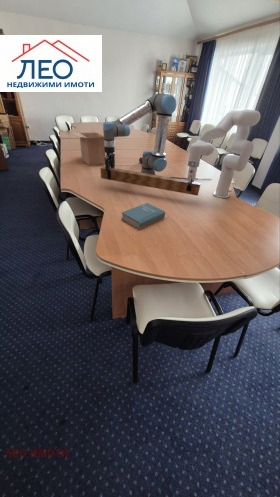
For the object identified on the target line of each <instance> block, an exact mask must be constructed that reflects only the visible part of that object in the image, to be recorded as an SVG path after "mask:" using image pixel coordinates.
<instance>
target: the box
mask: <svg viewBox="0 0 280 497" xmlns="http://www.w3.org/2000/svg"><path fill="white" fill-rule="evenodd" d="M70 133H71V134H72V135H74V136H75V137H77V138H79V144H80V153H81V160H83V162H85V163H86V165H87V166H95V165H97V166H98V165H105V157H106V152H105V151H104V147H105V146H104V133H103V131H98V132H96V131H95V130H92V129H91V130H77V132H76V131H70Z"/></svg>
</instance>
